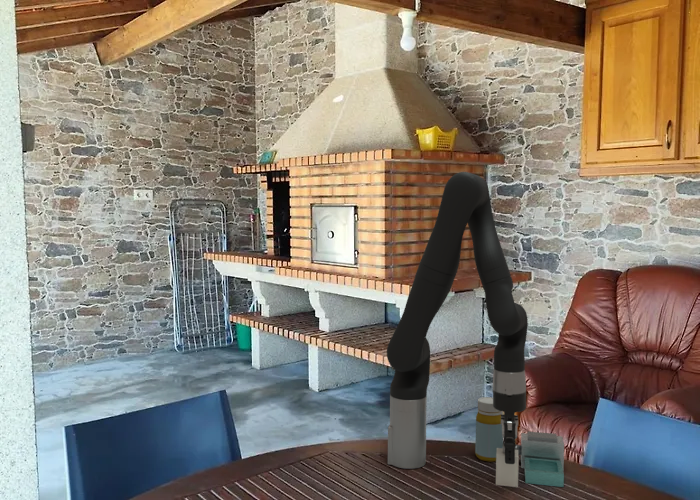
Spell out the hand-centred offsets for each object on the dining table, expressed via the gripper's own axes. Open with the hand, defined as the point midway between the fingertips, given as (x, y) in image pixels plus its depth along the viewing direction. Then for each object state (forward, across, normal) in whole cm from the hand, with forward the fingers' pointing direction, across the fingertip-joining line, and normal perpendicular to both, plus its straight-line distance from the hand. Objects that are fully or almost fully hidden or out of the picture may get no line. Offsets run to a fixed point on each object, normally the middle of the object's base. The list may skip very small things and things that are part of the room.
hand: (509, 456), depth 147 cm
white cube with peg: (+6, 0, -1) cm, 6 cm away
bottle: (+6, -14, -5) cm, 17 cm away
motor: (+6, -8, +6) cm, 12 cm away
